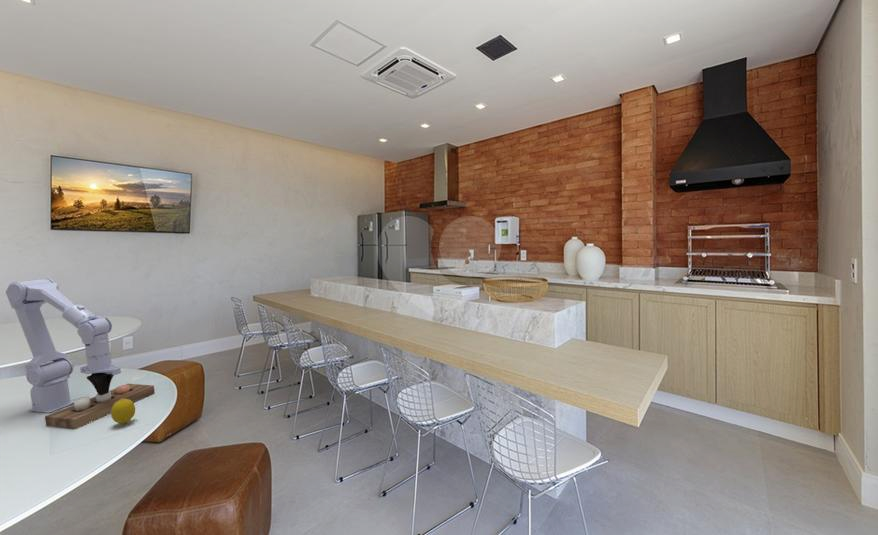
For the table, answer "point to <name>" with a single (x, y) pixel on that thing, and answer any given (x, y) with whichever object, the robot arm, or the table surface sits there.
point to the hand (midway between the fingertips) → (103, 393)
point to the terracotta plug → (122, 389)
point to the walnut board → (95, 408)
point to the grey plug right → (82, 403)
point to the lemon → (123, 411)
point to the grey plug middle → (103, 397)
